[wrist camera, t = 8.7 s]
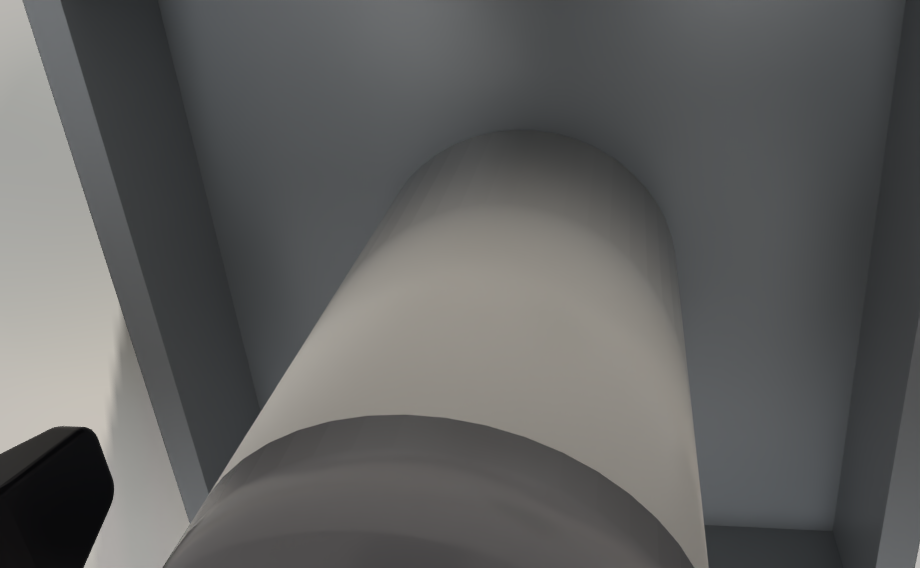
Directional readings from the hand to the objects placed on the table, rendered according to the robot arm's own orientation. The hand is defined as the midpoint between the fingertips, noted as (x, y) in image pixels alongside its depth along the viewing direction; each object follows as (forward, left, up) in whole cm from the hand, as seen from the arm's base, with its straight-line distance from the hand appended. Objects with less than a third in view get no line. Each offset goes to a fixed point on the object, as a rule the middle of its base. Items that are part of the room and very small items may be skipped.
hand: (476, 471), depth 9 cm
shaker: (0, 0, -5) cm, 5 cm away
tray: (0, 0, -6) cm, 6 cm away
